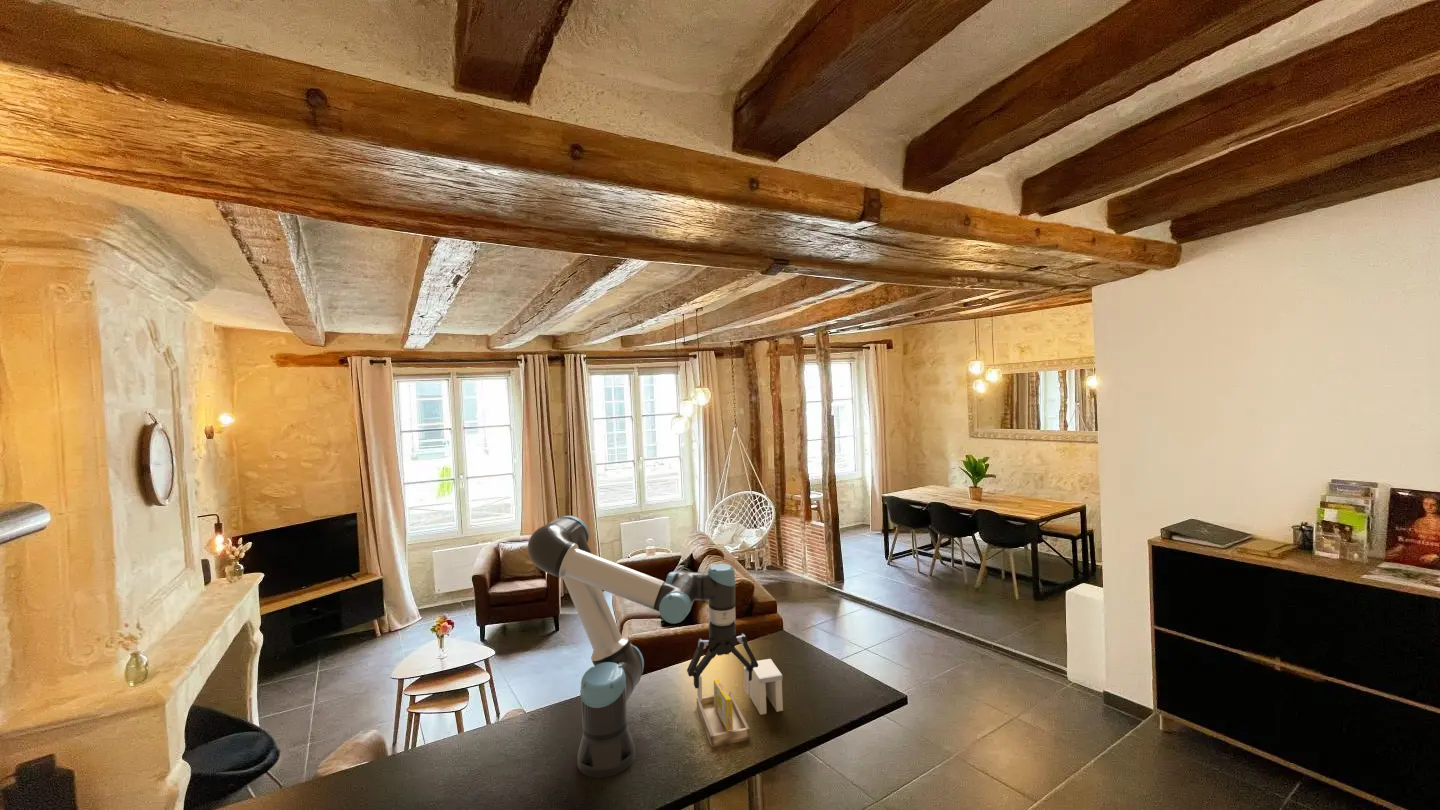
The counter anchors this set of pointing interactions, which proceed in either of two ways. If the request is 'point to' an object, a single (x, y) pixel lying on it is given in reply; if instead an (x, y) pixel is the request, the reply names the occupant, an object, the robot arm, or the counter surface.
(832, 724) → the counter surface
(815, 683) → the counter surface
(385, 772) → the counter surface
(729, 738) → the tray
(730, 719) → the candy box
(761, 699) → the white box
